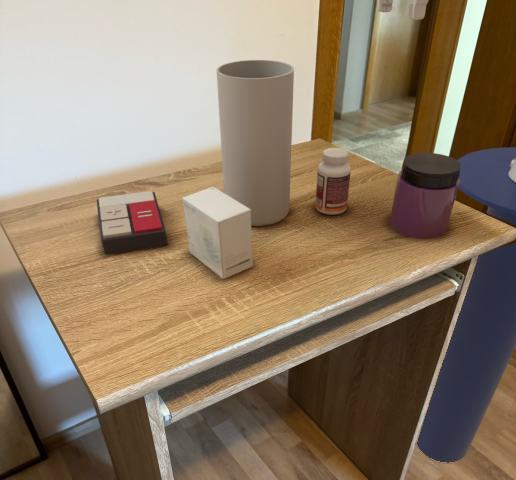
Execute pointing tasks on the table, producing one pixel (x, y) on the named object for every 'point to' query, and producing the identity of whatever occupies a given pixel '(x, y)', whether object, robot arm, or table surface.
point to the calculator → (130, 222)
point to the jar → (421, 209)
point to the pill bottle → (333, 182)
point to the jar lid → (430, 170)
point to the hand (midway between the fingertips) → (399, 15)
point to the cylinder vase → (257, 135)
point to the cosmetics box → (219, 231)
